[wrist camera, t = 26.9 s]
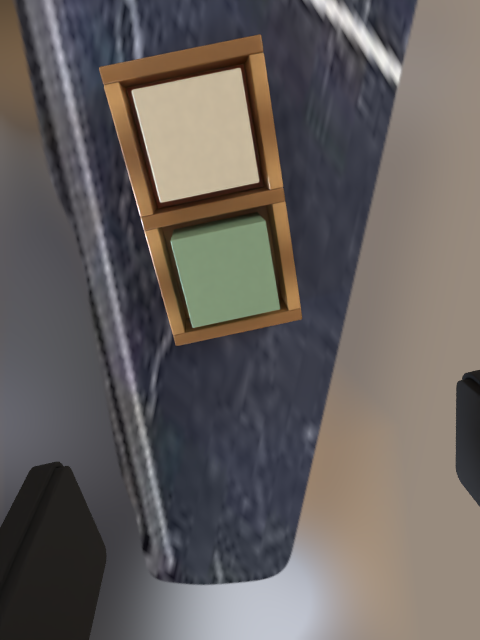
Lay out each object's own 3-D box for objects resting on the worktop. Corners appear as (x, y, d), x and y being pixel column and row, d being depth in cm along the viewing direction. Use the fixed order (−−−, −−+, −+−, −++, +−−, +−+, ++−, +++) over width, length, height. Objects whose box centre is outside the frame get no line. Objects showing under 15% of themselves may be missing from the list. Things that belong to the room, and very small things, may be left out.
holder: (109, 76, 24) (98, 66, 21) (253, 47, 24) (261, 33, 22) (178, 327, 30) (176, 346, 28) (292, 303, 31) (302, 319, 28)
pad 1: (139, 97, 24) (130, 89, 21) (234, 78, 24) (240, 67, 21) (164, 196, 26) (160, 203, 23) (251, 177, 26) (259, 182, 23)
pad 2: (173, 229, 27) (170, 240, 24) (257, 211, 27) (265, 220, 24) (193, 307, 29) (192, 328, 26) (270, 291, 29) (280, 309, 26)
